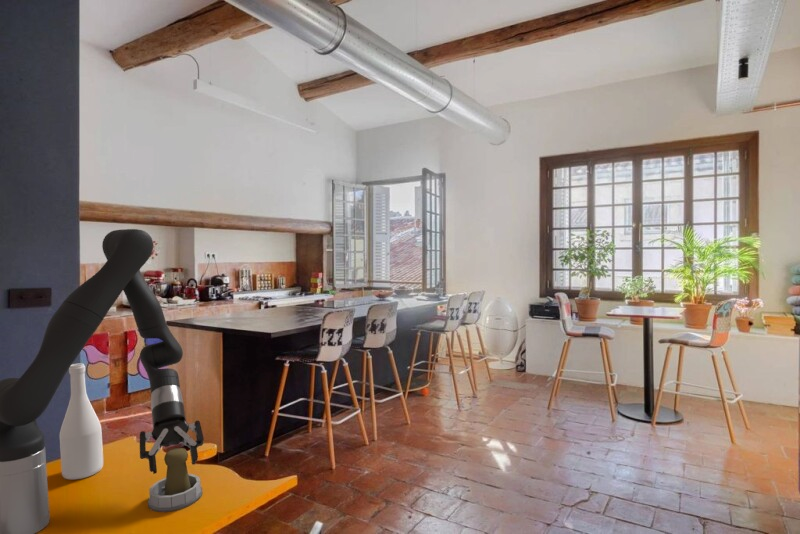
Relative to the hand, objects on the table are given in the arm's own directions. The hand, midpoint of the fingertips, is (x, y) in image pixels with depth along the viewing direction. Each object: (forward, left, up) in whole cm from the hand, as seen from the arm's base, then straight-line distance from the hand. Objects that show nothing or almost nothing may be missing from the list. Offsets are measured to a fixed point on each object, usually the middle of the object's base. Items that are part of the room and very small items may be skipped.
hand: (174, 467), depth 114 cm
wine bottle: (-20, +30, -8) cm, 37 cm away
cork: (+1, +2, -8) cm, 8 cm away
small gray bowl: (0, +1, -8) cm, 8 cm away
